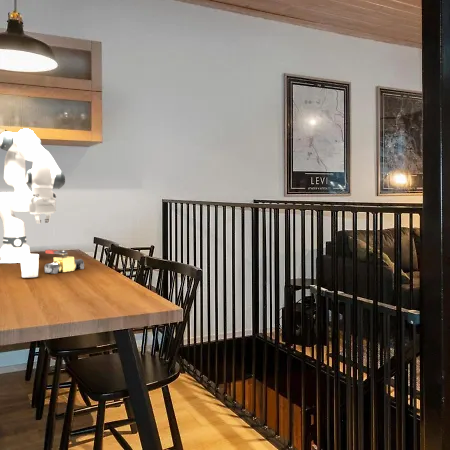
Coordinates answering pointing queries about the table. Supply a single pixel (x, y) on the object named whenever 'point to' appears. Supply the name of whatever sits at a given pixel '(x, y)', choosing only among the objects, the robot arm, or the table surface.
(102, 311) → the table surface
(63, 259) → the valve
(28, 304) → the table surface
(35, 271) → the white cup
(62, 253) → the lever
